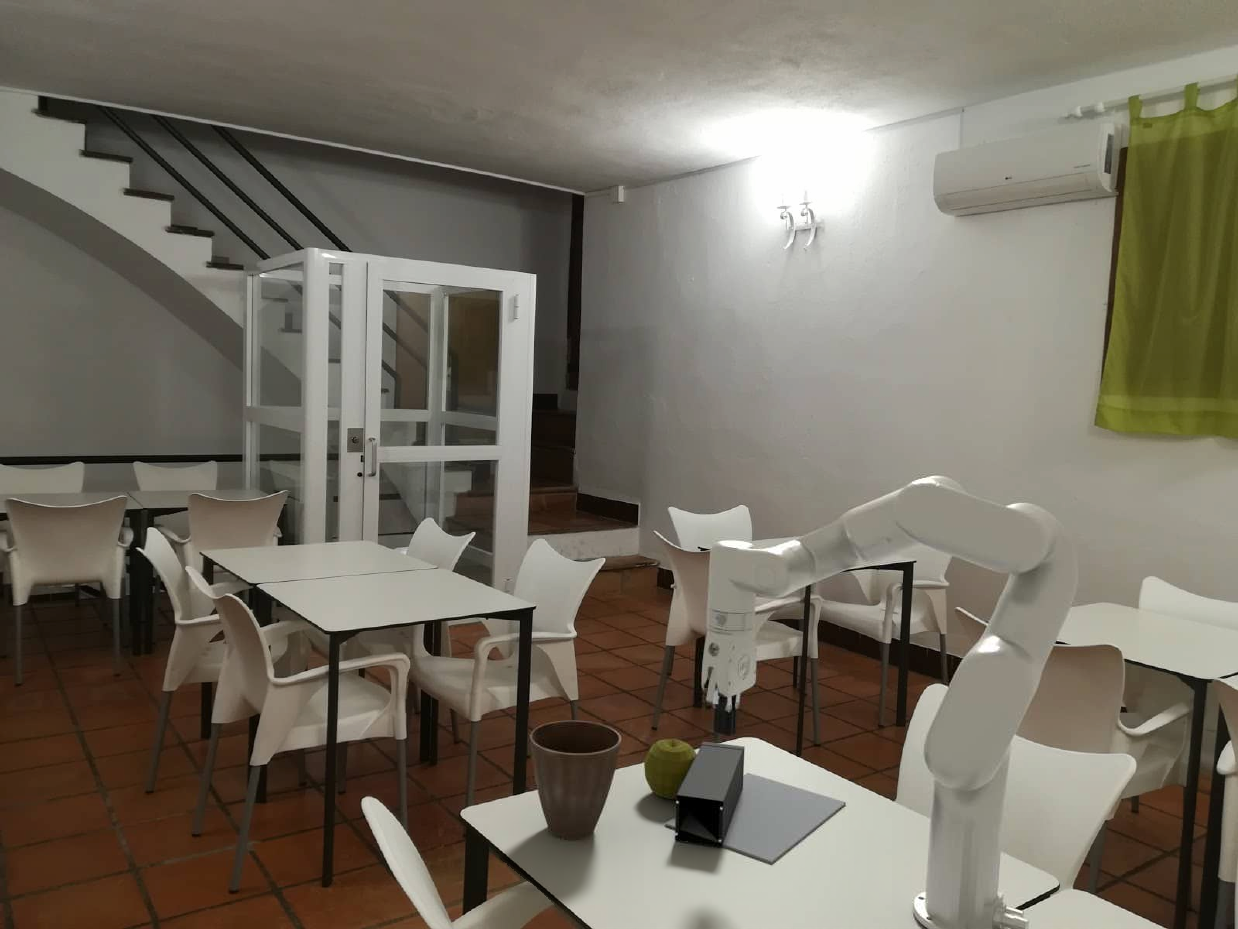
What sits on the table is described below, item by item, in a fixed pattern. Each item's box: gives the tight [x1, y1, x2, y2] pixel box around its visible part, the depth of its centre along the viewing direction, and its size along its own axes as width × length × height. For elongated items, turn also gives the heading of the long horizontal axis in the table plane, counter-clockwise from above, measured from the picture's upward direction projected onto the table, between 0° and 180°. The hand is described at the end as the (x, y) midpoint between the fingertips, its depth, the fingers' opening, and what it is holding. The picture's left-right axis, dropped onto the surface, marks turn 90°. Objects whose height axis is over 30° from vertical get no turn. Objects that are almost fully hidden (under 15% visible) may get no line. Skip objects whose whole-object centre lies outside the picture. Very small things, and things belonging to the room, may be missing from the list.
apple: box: [643, 738, 697, 800], centre depth 174 cm, size 10×10×11 cm
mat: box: [664, 772, 847, 865], centre depth 168 cm, size 20×29×1 cm
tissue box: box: [674, 741, 746, 848], centre depth 169 cm, size 8×8×28 cm
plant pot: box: [529, 720, 622, 841], centre depth 158 cm, size 15×15×16 cm
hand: (724, 732), depth 154 cm, fingers closed
